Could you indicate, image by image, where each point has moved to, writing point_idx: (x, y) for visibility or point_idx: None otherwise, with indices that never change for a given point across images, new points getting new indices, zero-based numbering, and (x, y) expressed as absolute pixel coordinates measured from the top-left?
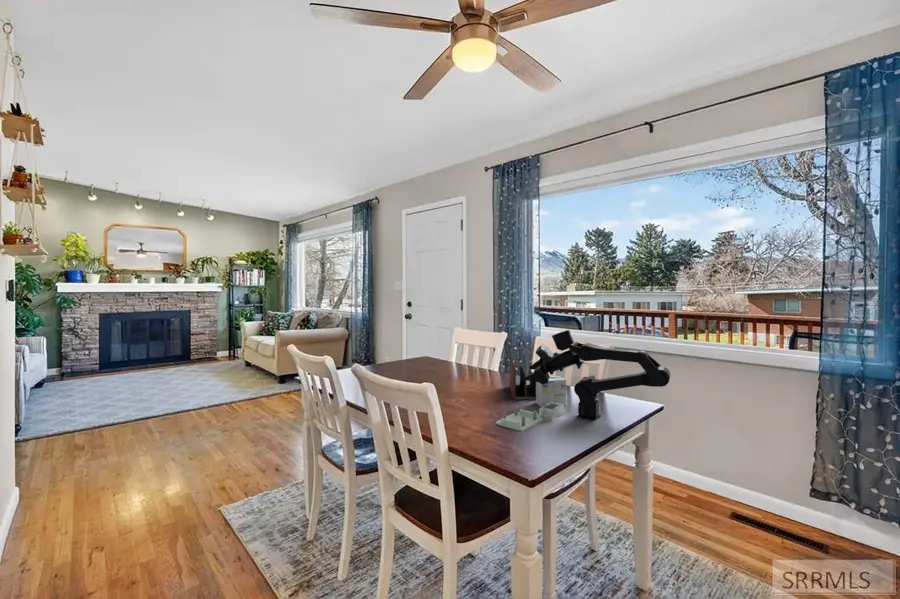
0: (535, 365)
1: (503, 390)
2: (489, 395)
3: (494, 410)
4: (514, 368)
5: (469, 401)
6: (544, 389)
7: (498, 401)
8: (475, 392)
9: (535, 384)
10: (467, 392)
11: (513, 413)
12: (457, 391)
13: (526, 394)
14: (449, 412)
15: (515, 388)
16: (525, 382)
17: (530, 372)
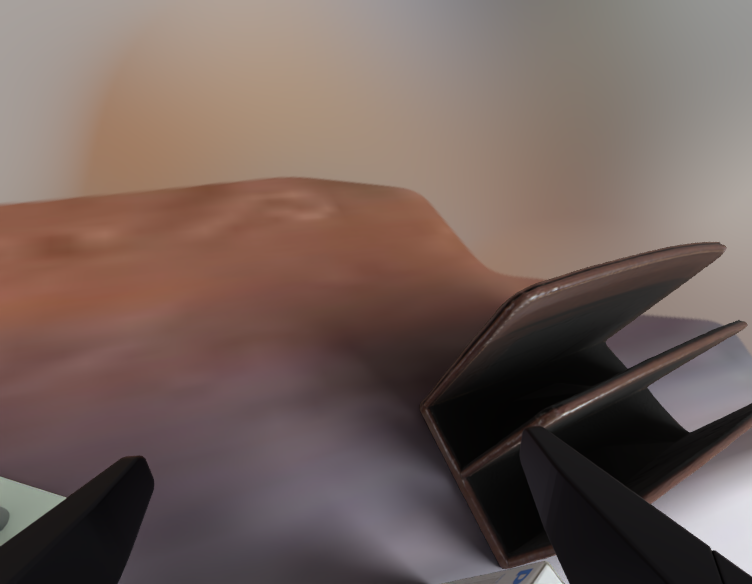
0: (605, 563)
1: None
2: (417, 288)
3: (169, 350)
4: (536, 283)
5: (296, 236)
6: None
7: (344, 339)
8: (426, 240)
9: None
10: (410, 219)
11: (35, 490)
12: (403, 194)
13: (510, 466)
14: (116, 195)
15: (570, 374)
16: (515, 435)
17: (747, 412)
